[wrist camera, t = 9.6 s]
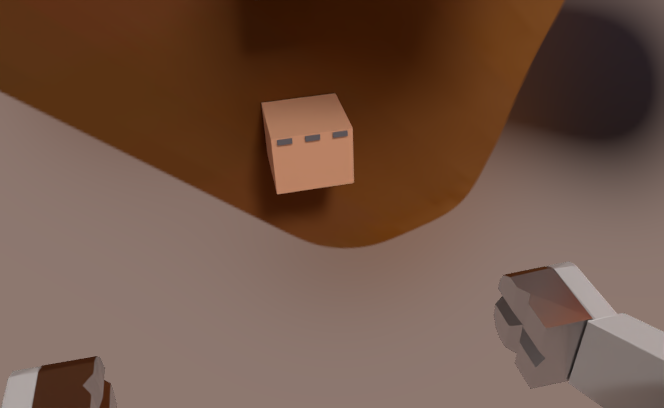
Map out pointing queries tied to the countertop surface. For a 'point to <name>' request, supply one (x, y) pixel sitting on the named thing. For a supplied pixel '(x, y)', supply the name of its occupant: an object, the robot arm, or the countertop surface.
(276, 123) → the block
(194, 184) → the countertop surface
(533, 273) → the robot arm
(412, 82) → the countertop surface
